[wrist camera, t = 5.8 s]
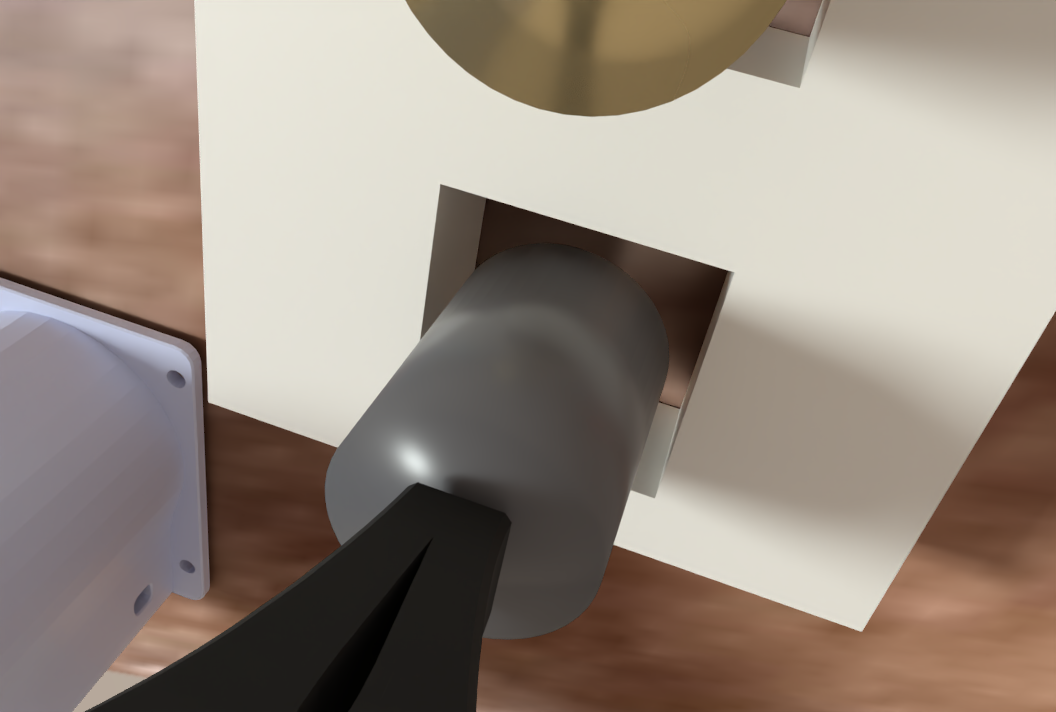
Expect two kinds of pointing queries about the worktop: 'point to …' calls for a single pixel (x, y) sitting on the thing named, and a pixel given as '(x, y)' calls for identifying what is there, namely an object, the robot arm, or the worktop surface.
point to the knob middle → (595, 47)
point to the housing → (672, 226)
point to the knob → (520, 422)
